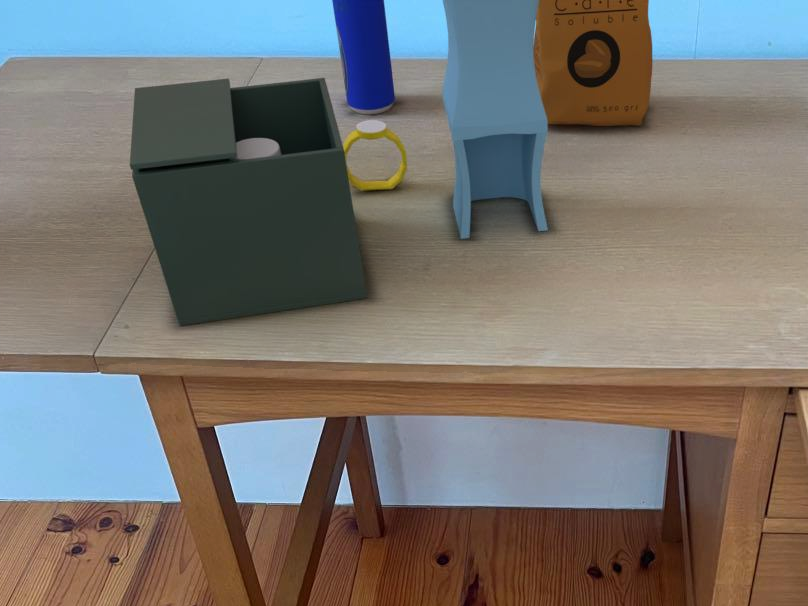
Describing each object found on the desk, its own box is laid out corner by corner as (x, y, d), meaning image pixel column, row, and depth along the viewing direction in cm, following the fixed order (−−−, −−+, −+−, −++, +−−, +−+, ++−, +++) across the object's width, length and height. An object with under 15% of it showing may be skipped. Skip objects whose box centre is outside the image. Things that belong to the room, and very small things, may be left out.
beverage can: (357, 94, 111) (335, -58, 100) (401, 98, 110) (385, -55, 100) (341, 114, 108) (317, -42, 97) (387, 117, 107) (368, -39, 96)
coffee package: (649, 136, 103) (666, -113, 87) (528, 136, 103) (523, -113, 88) (647, 97, 110) (661, -141, 94) (533, 96, 110) (529, -141, 95)
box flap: (131, 170, 71) (129, 164, 70) (136, 93, 80) (134, 87, 80) (237, 157, 72) (236, 152, 72) (230, 83, 81) (228, 78, 81)
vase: (533, 189, 95) (529, -46, 81) (548, 230, 90) (546, -14, 75) (450, 197, 94) (431, -40, 80) (460, 238, 89) (442, -7, 75)
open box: (179, 326, 80) (131, 175, 71) (178, 240, 89) (136, 98, 80) (367, 298, 82) (344, 150, 73) (347, 217, 92) (324, 77, 83)
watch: (347, 197, 95) (337, 135, 90) (345, 184, 96) (335, 122, 92) (410, 191, 95) (403, 129, 91) (407, 178, 97) (400, 116, 93)
